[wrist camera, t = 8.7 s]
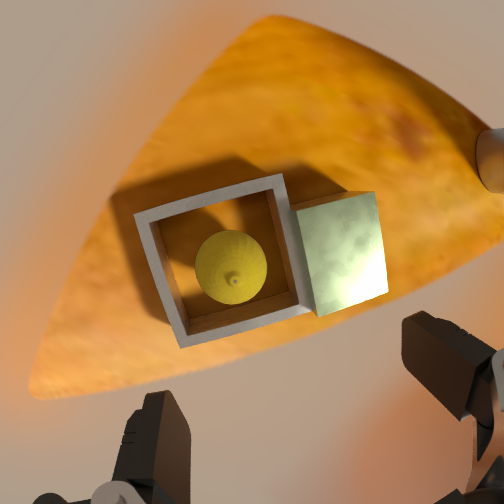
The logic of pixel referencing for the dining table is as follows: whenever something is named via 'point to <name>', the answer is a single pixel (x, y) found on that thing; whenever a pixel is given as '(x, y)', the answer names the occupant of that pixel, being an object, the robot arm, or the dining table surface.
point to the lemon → (230, 267)
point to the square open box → (292, 254)
